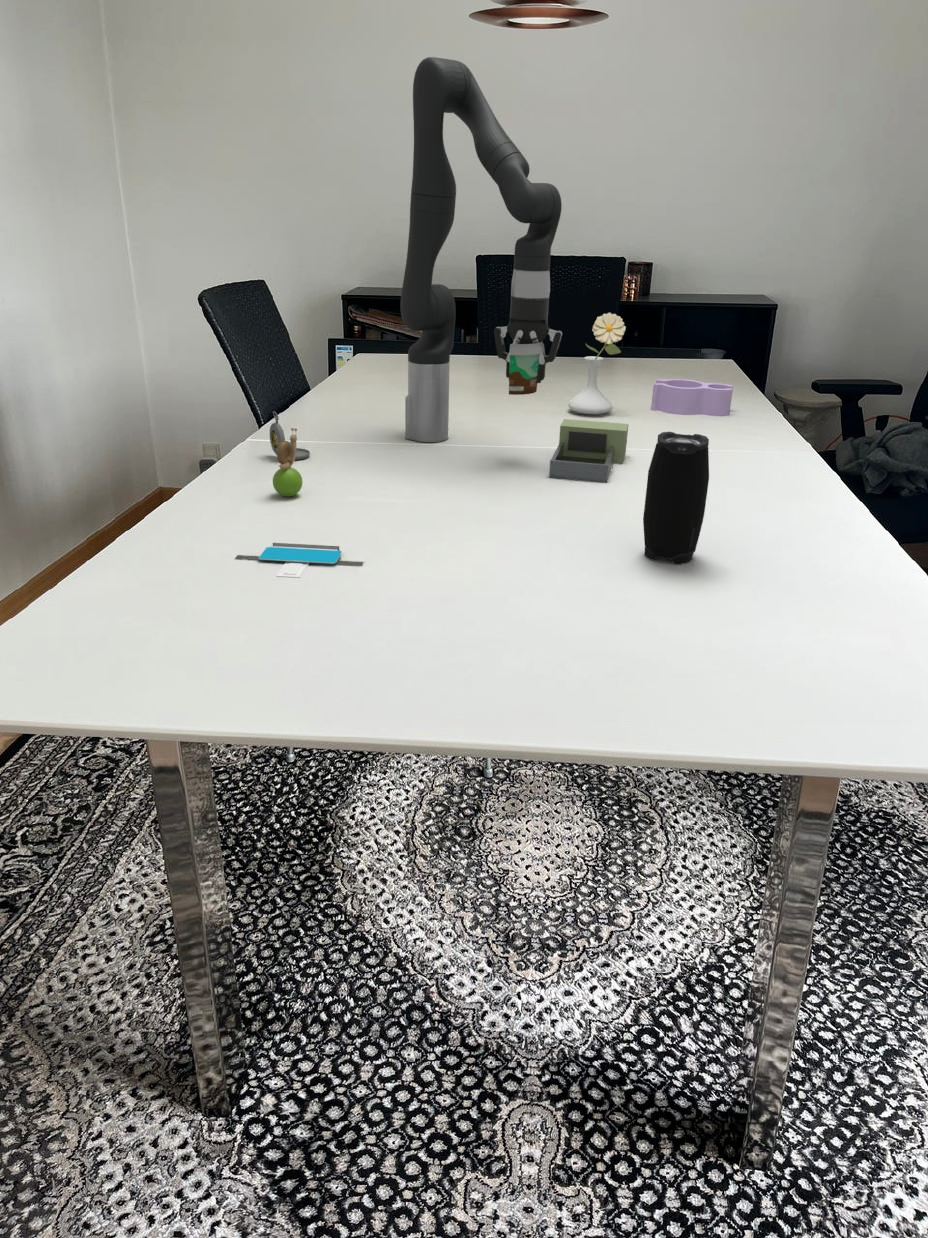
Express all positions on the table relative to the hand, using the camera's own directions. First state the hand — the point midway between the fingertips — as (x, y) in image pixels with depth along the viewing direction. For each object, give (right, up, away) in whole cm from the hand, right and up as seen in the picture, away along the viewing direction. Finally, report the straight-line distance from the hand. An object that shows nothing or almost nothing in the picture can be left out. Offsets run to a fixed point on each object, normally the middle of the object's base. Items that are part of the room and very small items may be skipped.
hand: (525, 380), depth 196 cm
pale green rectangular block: (+15, -13, +13) cm, 24 cm away
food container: (0, -2, +1) cm, 2 cm away
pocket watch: (-49, -15, +6) cm, 52 cm away
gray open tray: (+12, -17, +4) cm, 22 cm away
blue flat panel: (-38, -41, -47) cm, 73 cm away
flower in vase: (+21, +4, +51) cm, 56 cm away
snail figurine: (-45, -26, -17) cm, 54 cm away
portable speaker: (+21, -39, -40) cm, 60 cm away
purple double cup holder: (+47, +6, +57) cm, 75 cm away
